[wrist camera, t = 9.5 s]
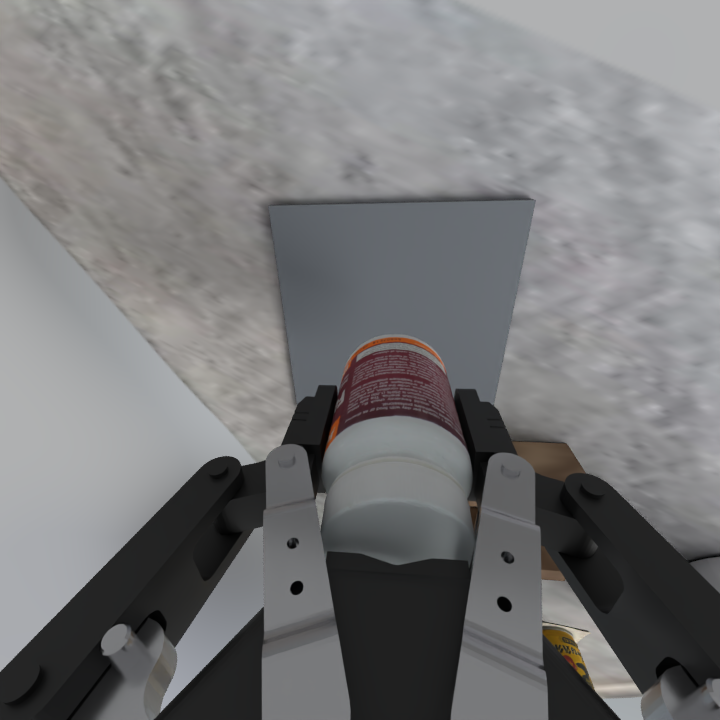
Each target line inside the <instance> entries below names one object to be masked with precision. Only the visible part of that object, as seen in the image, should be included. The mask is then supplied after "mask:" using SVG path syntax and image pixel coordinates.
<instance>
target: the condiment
mask: <svg viewBox="0 0 720 720" xmlns="http://www.w3.org/2000/svg"><path fill="white" fill-rule="evenodd" d="M542 633H543V635H544V636H545V637H546V638H547V639H548V640H549V641H550V642H551V643H552V644H553V646H554V647H555V648H556V649H557V650H558V651H559V652H560V653H561V654H562V655H563V657H564V658H565V659H566V660H567V661H568V662H569V663H570V664H571V665H572V666H573V668H574V669H575V670H576V671H577V672H578V673H579V674H580V675H581V676H582V677H583V679H584V680H585V681H586V682H587V683H588V684H589V685H590V686H591V687H592V688H593V690H594V687H593V684H592V681H591V679H590V677H589V674H588V671H587V669H586V666H585V663H584V661H583V659H582V656H581V653H580V652H579V649H578V646H577V644H576V643H577V642H579V641H580V640H581V639H582V638H584V637H585V636H586V635H587V634H591V633H589V632H584V631H581V630H576V629H573V628H569V627H565V626H560V625H555V624H549V623H542ZM594 691H595V690H594Z"/></svg>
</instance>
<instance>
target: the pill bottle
mask: <svg viewBox="0 0 720 720" xmlns="http://www.w3.org/2000/svg"><path fill="white" fill-rule="evenodd" d="M322 481H323V486H324V489H325V491H326V493H327V497H326V500H325V505H324V513H323V519H322V525H321V537H322V543H323V549H324V555H325V559H326V555H327V551H333V552H348V553H361V554H364V555H367V556H370V557H373V558H376V559H379V560H382V561H385V562H388V563H391V564H394V565H401V564H406V563H411V562H416V561H421V560H426V559H431V558H436V559H451V560H466V561H468V564H470V560H471V556H472V551H473V547H474V542H475V534H474V529H473V524H472V518H471V513H470V506H469V503H468V500H467V499H468V497H469V494H470V492H471V488H472V483H473V471H472V465H471V460H470V456H469V453H468V449H467V445H466V442H465V439H464V436H463V432H462V428H461V424H460V421H459V418H458V413H457V410H456V406H455V401H454V398H453V395H452V391H451V387H450V384H449V381H448V377H447V373H446V369H445V366H444V364H443V362H442V360H441V358H440V356H439V355H438V354H437V352H436V351H435V350H434V349H433V348H432V347H431V346H429V345H428V344H427V343H425V342H423V341H421V340H419V339H417V338H415V337H412V336H408V335H402V334H388V335H382V336H377V337H374V338H372V339H370V340H368V341H366V342H364V343H363V344H361V345H360V346H359V347H358V348H357V349H356V350H355V351H354V352H353V353H352V354H351V356H350V357H349V359H348V361H347V363H346V365H345V369H344V373H343V377H342V381H341V385H340V388H339V393H338V397H337V401H336V405H335V410H334V414H333V419H332V423H331V427H330V430H329V436H328V440H327V444H326V448H325V453H324V457H323V462H322Z"/></svg>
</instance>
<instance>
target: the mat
mask: <svg viewBox="0 0 720 720" xmlns="http://www.w3.org/2000/svg"><path fill="white" fill-rule="evenodd" d="M535 201H536V200H533V199H527V200H482V201H437V202H392V203H347V204H302V205H270V206H268V208H269V215H270V222H271V229H272V235H273V242H274V249H275V256H276V263H277V270H278V277H279V284H280V291H281V298H282V305H283V311H284V318H285V325H286V332H287V339H288V346H289V353H290V360H291V367H292V374H293V381H294V388H295V394H296V401H297V405H298V403H299V402H300V401H302V400H303V399H304V398H305V397H306V396H311V397H315V394H316V391H317V388H318V386H319V385H336V386H337V390H338V393H339V388H340V385H341V381H342V377H343V373H344V369H345V365H346V363H347V361H348V359H349V357H350V356H351V354H352V353H353V352H354V351H355V350H356V349H357V348H358V347H359V346H360V345H361V344H363V343H364V342H366V341H368V340H370V339H372V338H374V337H377V336H382V335H388V334H402V335H408V336H412V337H415V338H417V339H419V340H421V341H423V342H425V343H427V344H428V345H429V346H431V347H432V348H433V349H434V350H435V351H436V352H437V354H438V355H439V356H440V358H441V360H442V362H443V364H444V366H445V369H446V373H447V377H448V381H449V384H450V387H451V391H452V395H453V398H454V394H455V390H456V389H475V390H476V392H477V394H478V397H479V399H480V401H482V402H490V403H491V404H492V405H493V406H494V401H495V396H496V391H497V386H498V381H499V376H500V371H501V367H502V362H503V357H504V352H505V347H506V342H507V337H508V333H509V328H510V323H511V318H512V313H513V308H514V303H515V299H516V294H517V289H518V284H519V279H520V274H521V269H522V265H523V260H524V255H525V250H526V245H527V240H528V235H529V231H530V226H531V221H532V216H533V211H534V206H535Z"/></svg>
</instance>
